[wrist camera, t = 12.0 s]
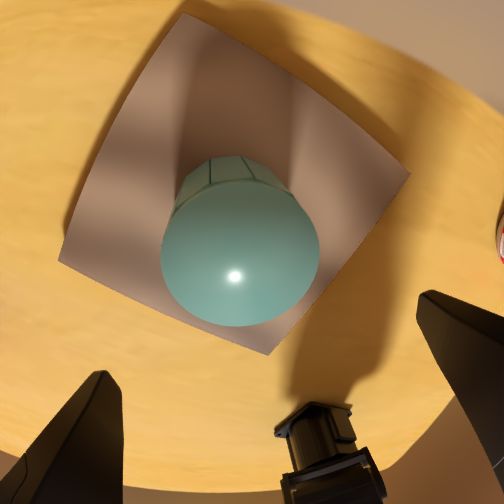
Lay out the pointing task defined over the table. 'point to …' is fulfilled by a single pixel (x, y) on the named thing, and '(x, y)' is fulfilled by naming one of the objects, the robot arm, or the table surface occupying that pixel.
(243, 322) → the cap
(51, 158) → the table surface
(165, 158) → the post base
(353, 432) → the robot arm
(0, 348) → the table surface
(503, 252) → the soda can
